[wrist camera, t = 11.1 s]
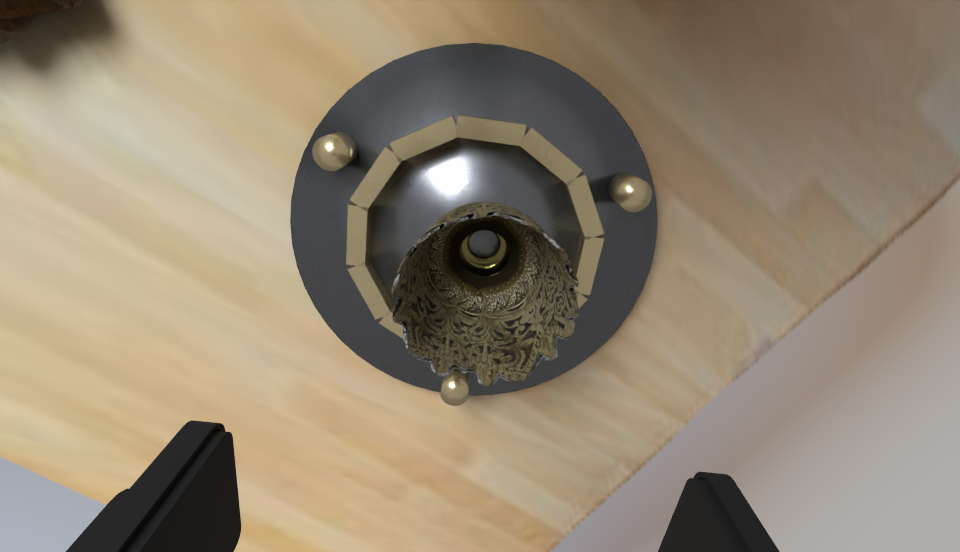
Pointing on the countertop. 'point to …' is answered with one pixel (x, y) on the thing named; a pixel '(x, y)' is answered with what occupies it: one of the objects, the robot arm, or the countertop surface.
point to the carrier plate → (469, 195)
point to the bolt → (26, 14)
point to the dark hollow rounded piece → (485, 295)
